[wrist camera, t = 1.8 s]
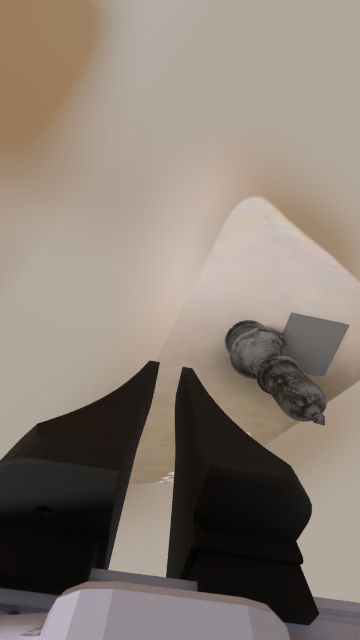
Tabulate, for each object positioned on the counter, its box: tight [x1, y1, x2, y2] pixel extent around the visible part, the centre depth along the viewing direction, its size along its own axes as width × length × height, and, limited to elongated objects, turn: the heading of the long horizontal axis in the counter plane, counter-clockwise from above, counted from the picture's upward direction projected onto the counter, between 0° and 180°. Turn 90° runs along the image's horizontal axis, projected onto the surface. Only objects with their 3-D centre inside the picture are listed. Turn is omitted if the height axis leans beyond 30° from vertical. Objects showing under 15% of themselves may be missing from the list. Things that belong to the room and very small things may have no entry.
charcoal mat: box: [282, 313, 349, 376], centre depth 21 cm, size 7×7×1 cm
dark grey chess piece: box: [225, 320, 326, 425], centre depth 15 cm, size 6×6×12 cm
